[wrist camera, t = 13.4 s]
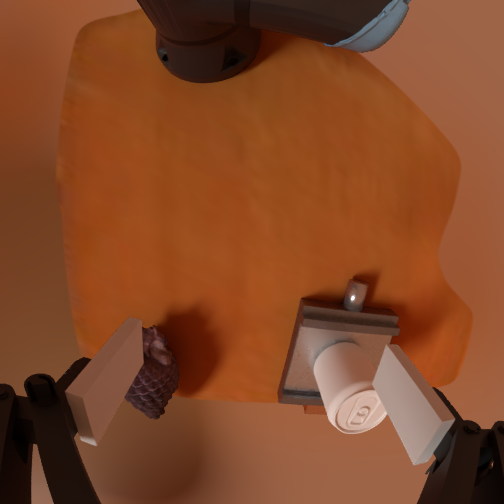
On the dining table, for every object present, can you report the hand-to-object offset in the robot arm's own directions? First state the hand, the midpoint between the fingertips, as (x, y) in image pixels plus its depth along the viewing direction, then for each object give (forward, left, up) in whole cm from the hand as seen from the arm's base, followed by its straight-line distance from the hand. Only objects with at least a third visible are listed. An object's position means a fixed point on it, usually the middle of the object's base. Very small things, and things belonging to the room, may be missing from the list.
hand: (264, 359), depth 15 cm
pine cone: (+20, -13, -28) cm, 36 cm away
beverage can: (+14, +15, -24) cm, 32 cm away
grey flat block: (+14, +15, -27) cm, 34 cm away
